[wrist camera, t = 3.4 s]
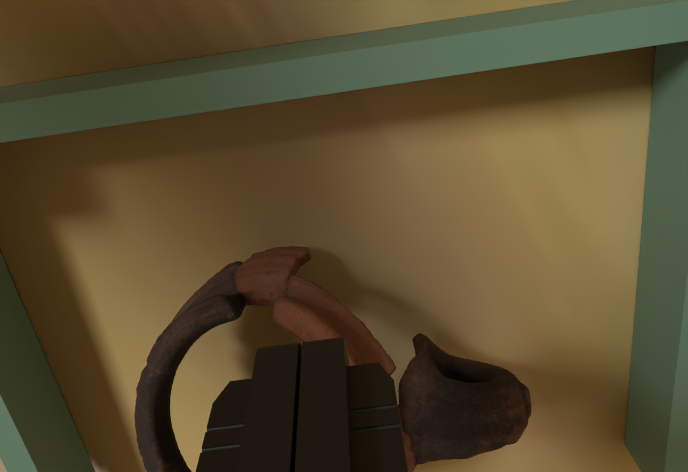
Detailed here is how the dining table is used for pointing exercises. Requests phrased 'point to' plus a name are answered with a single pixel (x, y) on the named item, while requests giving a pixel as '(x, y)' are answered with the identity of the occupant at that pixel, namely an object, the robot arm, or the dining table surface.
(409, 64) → the teal bars
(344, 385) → the robot arm
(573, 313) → the dining table surface
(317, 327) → the pottery mug
